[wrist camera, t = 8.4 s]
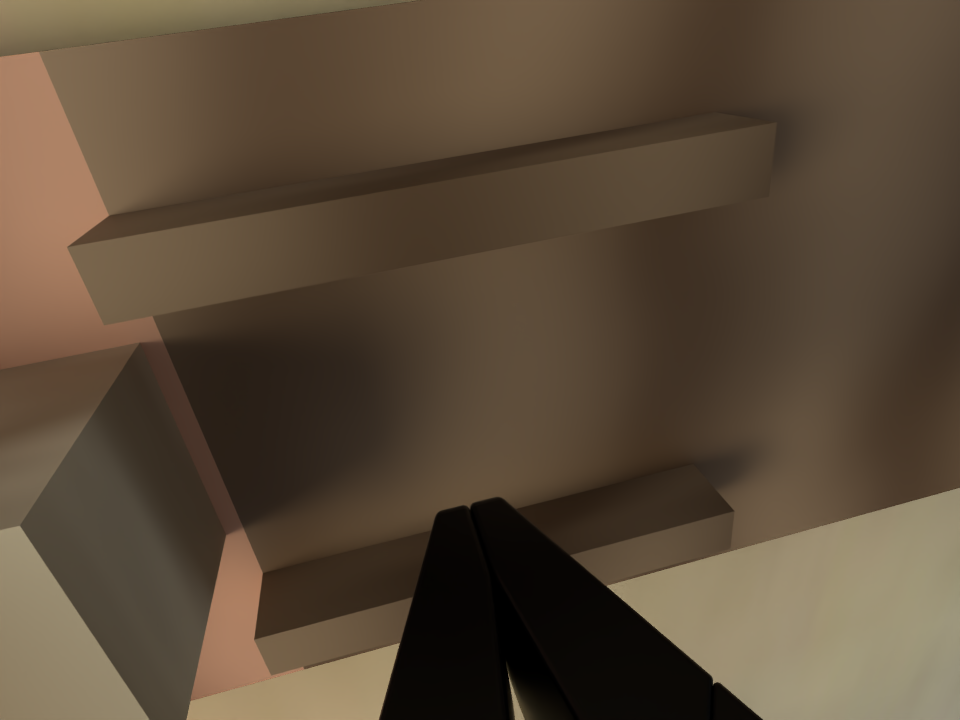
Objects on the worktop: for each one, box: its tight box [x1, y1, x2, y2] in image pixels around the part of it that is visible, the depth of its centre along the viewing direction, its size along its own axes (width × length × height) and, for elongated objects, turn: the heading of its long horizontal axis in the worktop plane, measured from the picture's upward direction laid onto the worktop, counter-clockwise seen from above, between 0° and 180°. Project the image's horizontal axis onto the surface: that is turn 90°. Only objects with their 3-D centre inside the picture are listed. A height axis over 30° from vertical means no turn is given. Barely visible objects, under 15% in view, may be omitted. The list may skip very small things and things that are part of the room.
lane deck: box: [0, 0, 960, 701], centre depth 11 cm, size 31×12×4 cm, turn 97°
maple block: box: [0, 342, 226, 720], centre depth 8 cm, size 4×4×4 cm
